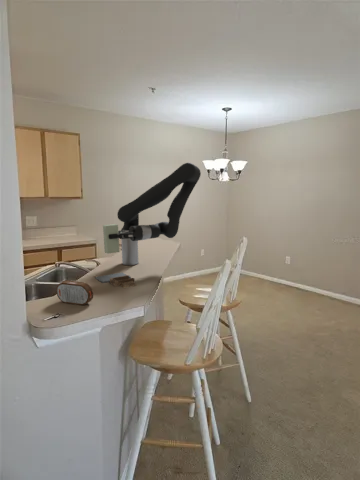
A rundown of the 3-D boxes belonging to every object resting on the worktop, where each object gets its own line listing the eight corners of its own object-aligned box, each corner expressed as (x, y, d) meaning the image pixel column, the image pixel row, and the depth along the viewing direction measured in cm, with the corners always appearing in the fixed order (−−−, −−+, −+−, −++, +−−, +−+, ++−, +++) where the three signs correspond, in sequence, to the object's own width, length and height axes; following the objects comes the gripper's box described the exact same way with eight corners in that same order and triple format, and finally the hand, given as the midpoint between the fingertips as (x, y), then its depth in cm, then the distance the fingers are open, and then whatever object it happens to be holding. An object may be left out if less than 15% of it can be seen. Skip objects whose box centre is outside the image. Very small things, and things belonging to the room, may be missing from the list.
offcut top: (121, 285, 140) (121, 283, 140) (132, 283, 143) (132, 281, 143) (124, 287, 138) (124, 284, 138) (135, 284, 141) (135, 282, 140)
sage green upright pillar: (104, 252, 150) (103, 225, 148) (116, 250, 153) (115, 224, 151) (107, 253, 147) (105, 225, 145) (119, 251, 151) (117, 224, 148)
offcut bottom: (120, 287, 140) (120, 285, 140) (133, 285, 144) (133, 283, 143) (124, 289, 137) (124, 287, 137) (136, 287, 141) (136, 285, 140)
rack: (109, 282, 145) (109, 278, 145) (127, 279, 150) (127, 275, 150) (116, 286, 139) (115, 281, 139) (134, 282, 144) (134, 278, 144)
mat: (95, 278, 153) (95, 277, 152) (122, 273, 160) (122, 272, 160) (102, 283, 144) (102, 281, 144) (130, 278, 152) (130, 276, 152)
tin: (94, 304, 118) (93, 282, 117) (89, 307, 115) (88, 284, 114) (61, 299, 123) (59, 279, 122) (55, 302, 120) (54, 281, 119)
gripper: (133, 224, 163) (101, 227, 153) (146, 226, 151) (112, 229, 142) (134, 238, 164) (102, 242, 154) (147, 241, 152) (113, 246, 143)
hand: (107, 236), depth 148 cm, fingers closed on sage green upright pillar, 3 cm apart
